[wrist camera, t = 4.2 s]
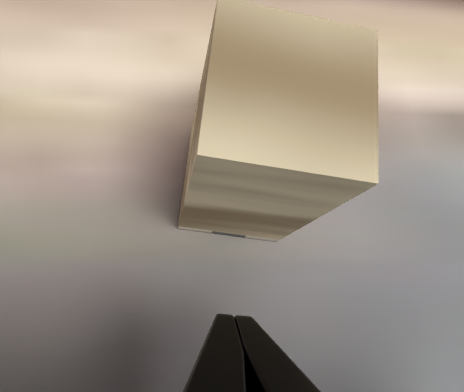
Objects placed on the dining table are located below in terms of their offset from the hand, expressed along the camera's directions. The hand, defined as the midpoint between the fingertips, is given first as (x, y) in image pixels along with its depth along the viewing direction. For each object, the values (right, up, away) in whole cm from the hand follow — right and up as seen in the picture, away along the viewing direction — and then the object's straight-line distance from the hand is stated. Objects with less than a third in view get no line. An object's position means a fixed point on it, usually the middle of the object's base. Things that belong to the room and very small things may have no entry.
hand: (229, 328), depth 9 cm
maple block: (0, +3, +9) cm, 10 cm away
